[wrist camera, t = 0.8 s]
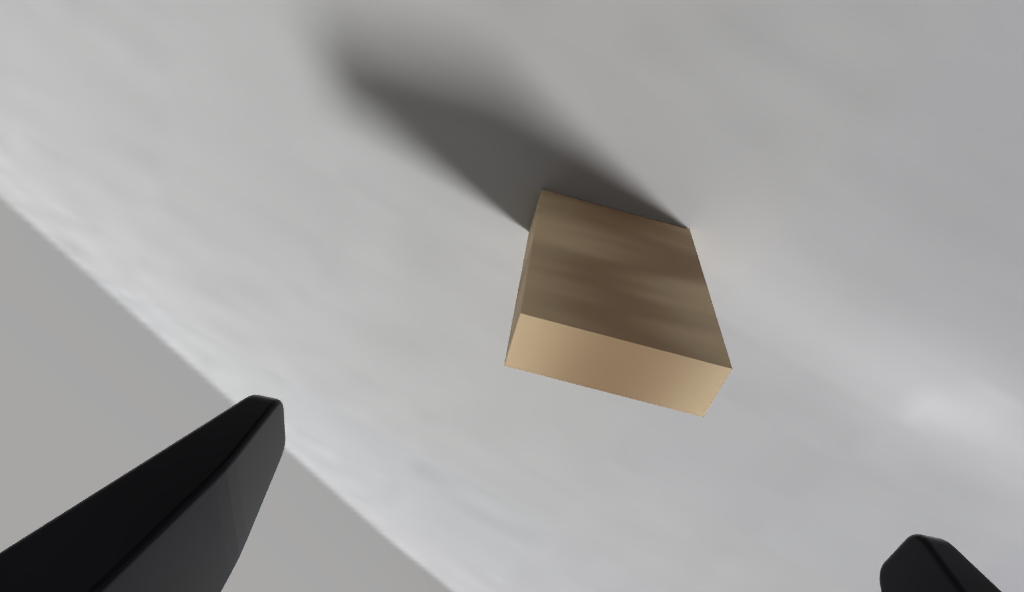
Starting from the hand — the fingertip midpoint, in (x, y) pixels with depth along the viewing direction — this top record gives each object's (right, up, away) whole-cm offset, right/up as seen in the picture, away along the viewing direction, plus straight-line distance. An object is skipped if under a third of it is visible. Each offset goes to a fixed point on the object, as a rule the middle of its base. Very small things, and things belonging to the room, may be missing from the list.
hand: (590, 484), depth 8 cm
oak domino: (+2, +5, +11) cm, 12 cm away
